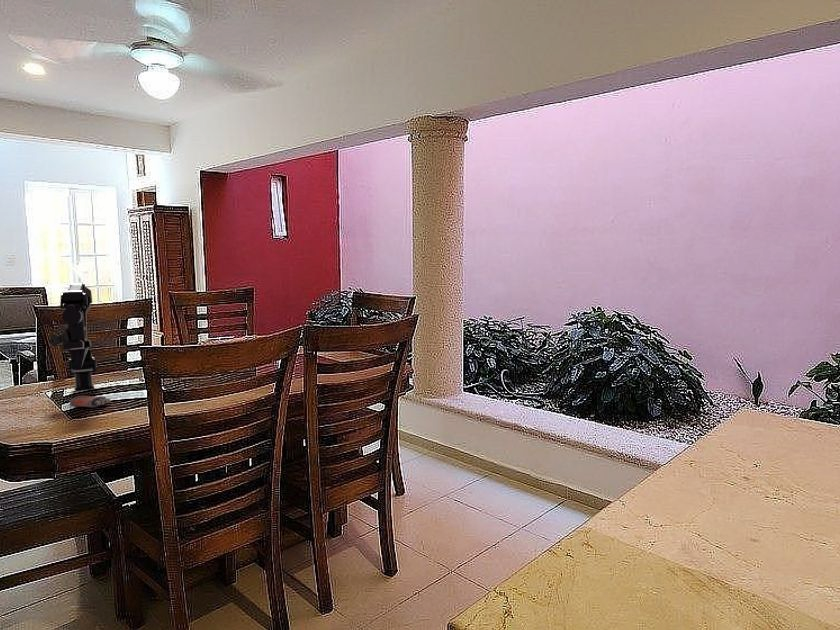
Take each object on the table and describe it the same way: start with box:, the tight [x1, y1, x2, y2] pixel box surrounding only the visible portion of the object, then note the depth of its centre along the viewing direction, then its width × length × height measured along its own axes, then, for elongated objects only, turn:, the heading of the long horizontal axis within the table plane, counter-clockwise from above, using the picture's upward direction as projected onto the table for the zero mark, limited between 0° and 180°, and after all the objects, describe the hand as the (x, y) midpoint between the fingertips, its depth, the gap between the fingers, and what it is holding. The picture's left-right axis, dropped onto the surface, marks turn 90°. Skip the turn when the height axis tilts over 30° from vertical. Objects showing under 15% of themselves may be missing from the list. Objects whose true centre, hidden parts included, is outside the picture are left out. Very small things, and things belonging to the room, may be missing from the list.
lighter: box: [69, 395, 111, 408], centre depth 198 cm, size 8×3×10 cm
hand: (79, 367), depth 208 cm, fingers closed
